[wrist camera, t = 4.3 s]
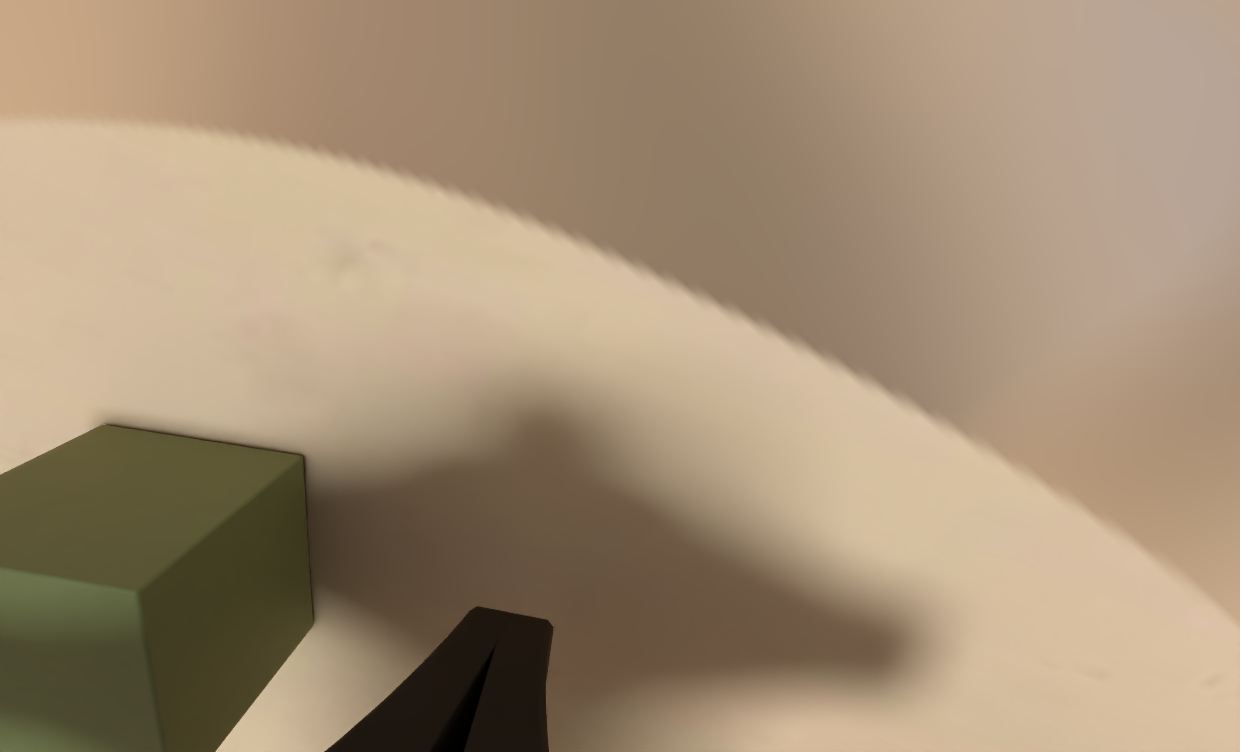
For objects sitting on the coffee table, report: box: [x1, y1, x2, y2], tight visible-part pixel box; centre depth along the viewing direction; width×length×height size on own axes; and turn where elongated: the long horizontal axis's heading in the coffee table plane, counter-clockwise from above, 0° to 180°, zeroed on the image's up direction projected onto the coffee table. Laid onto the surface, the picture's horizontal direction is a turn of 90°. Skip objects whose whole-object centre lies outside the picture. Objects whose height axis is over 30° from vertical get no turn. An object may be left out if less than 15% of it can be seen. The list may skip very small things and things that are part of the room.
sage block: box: [0, 425, 313, 752], centre depth 11 cm, size 4×4×4 cm
